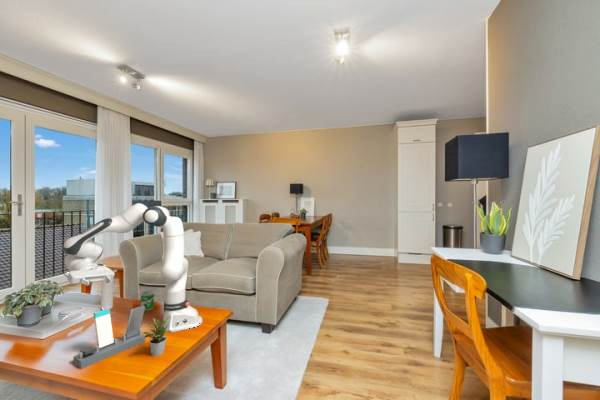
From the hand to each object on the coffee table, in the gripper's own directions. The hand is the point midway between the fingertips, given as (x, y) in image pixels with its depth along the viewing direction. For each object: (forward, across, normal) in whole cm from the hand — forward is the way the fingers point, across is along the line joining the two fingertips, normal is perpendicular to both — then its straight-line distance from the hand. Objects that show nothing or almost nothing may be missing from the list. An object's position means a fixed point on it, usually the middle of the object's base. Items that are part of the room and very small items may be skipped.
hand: (99, 282), depth 135 cm
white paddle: (+22, -1, +20) cm, 30 cm away
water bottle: (-30, +34, +38) cm, 59 cm away
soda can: (-7, +43, +29) cm, 52 cm away
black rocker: (+22, -8, +21) cm, 31 cm away
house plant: (+42, +11, +16) cm, 47 cm away
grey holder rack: (+24, +2, +24) cm, 34 cm away
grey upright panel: (+23, +10, +18) cm, 32 cm away
